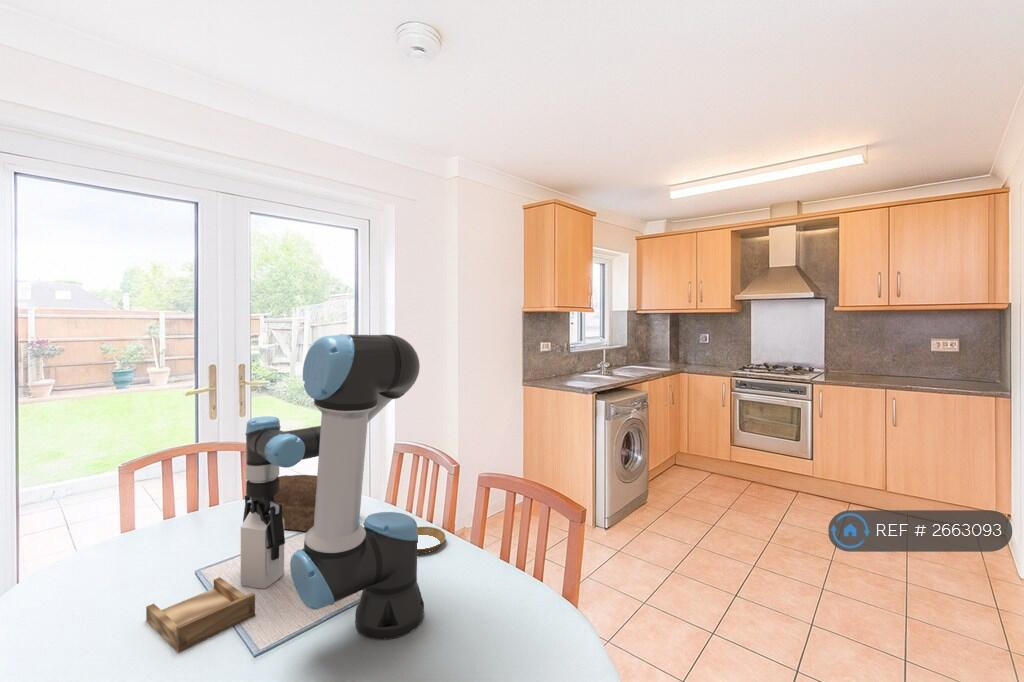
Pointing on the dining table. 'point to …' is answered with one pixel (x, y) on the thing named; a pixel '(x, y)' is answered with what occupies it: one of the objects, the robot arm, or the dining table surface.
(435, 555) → the dining table surface
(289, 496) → the bread
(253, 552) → the milk carton
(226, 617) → the wooden tray
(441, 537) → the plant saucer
